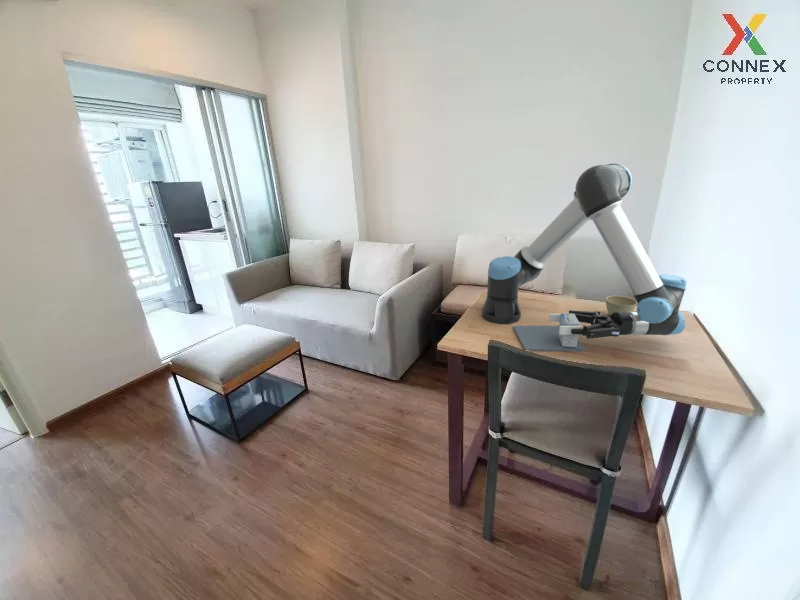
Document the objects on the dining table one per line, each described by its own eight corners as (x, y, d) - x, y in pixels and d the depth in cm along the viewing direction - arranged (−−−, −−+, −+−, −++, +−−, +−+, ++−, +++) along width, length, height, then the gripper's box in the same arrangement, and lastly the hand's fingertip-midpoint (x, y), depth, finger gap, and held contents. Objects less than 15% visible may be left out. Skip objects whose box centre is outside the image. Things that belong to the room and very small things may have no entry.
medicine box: (576, 347, 106) (581, 323, 103) (561, 346, 107) (565, 322, 104) (571, 336, 113) (575, 313, 110) (557, 335, 114) (560, 312, 111)
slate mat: (525, 351, 108) (525, 349, 108) (513, 327, 124) (513, 325, 123) (585, 351, 106) (586, 349, 106) (565, 327, 122) (565, 325, 122)
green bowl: (600, 310, 134) (604, 294, 131) (629, 313, 130) (633, 296, 127) (604, 321, 125) (608, 303, 122) (635, 324, 121) (640, 306, 119)
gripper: (644, 350, 98) (565, 350, 100) (608, 319, 117) (542, 320, 119) (650, 327, 95) (568, 328, 97) (612, 300, 115) (545, 300, 117)
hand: (554, 323), depth 108 cm, fingers open, 8 cm apart
